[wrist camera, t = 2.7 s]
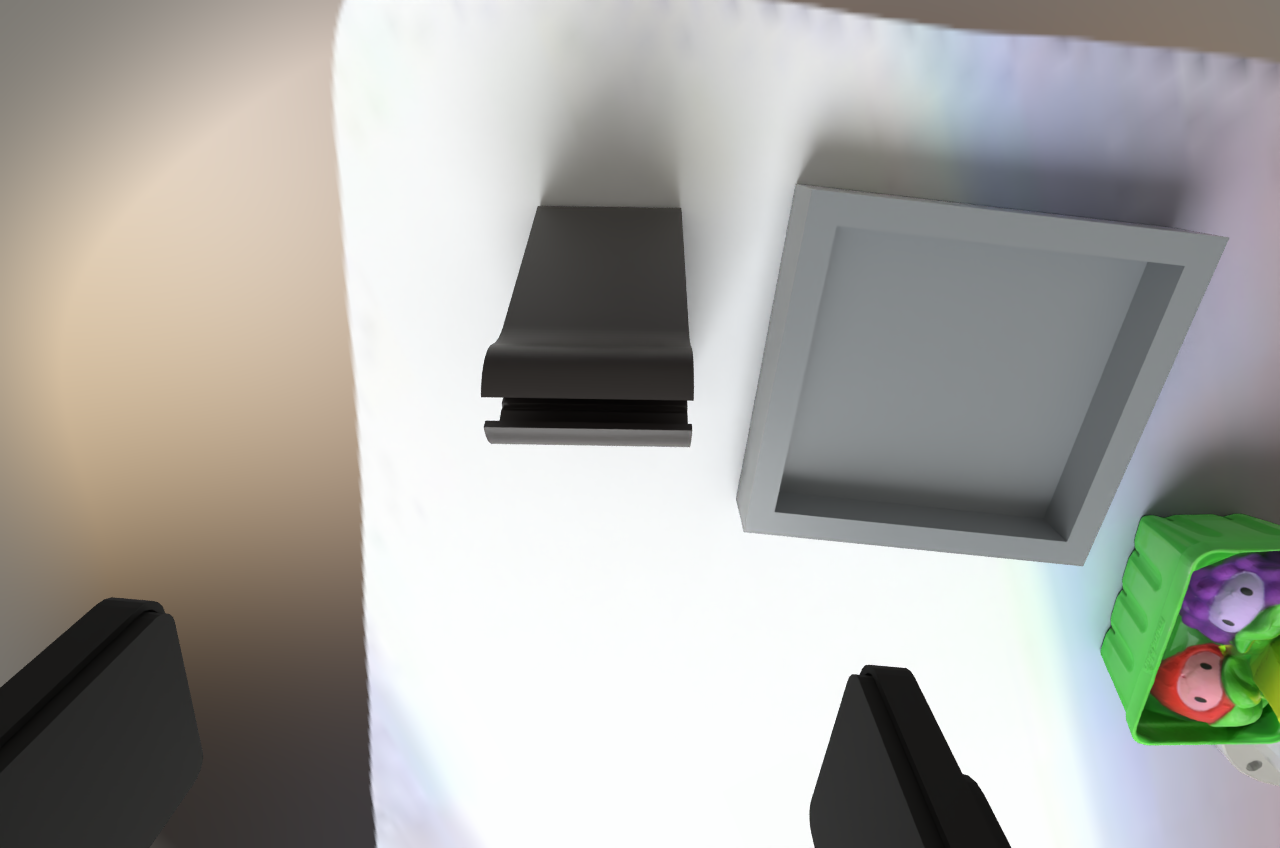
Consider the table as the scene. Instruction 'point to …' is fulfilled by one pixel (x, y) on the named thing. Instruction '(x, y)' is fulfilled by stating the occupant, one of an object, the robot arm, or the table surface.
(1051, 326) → the tray
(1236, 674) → the fruit basket
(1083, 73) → the table surface
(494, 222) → the table surface
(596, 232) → the phone stand
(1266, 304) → the table surface
